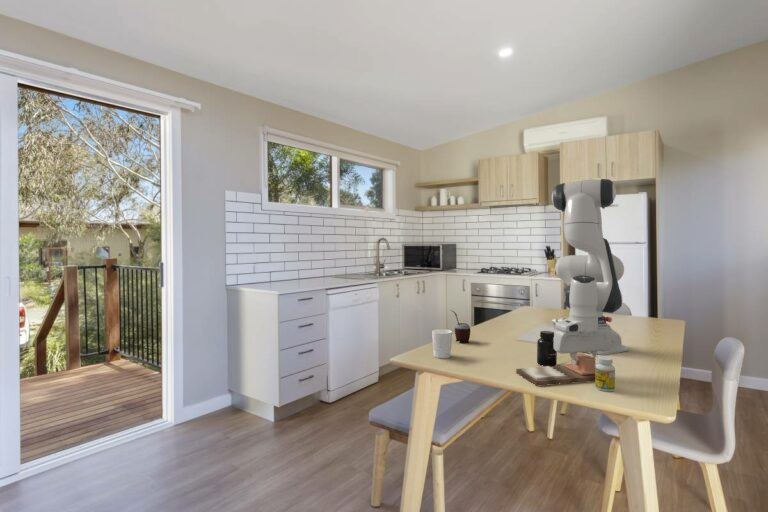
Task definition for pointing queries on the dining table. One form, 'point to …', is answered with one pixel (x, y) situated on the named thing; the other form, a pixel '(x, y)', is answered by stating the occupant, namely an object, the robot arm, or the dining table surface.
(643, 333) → the dining table surface
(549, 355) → the supplement bottle
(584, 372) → the stub
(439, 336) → the white cup
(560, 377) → the ticket board
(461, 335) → the mate gourd
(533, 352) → the dining table surface
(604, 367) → the supplement bottle
